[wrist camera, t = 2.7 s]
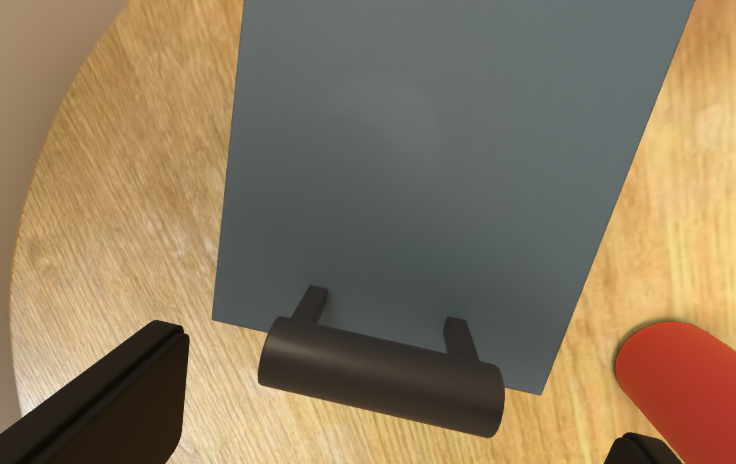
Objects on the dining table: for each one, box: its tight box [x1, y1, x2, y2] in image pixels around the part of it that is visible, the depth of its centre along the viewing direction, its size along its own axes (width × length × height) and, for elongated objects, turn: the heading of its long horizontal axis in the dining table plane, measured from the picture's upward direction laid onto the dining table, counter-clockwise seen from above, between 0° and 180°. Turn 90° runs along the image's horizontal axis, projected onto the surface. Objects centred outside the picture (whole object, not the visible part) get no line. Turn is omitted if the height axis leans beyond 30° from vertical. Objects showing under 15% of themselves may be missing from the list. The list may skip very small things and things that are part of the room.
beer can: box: [616, 321, 736, 464], centre depth 21 cm, size 7×7×12 cm
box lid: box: [212, 0, 695, 438], centre depth 10 cm, size 15×13×5 cm
